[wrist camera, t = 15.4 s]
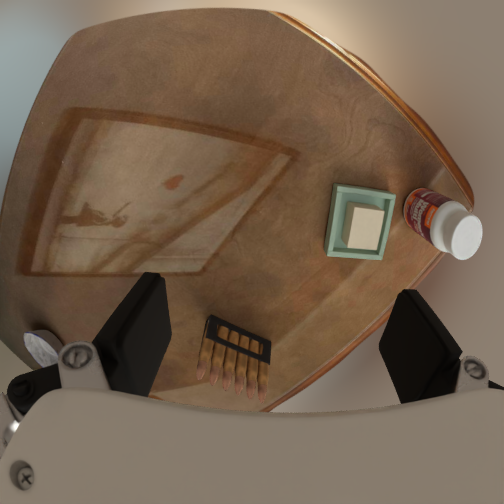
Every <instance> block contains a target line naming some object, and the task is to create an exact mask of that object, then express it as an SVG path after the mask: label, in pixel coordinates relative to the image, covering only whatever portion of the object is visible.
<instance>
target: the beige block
mask: <svg viewBox="0 0 504 504" xmlns="http://www.w3.org/2000/svg"><path fill="white" fill-rule="evenodd" d="M384 213H385V211H384V210H382V209H381V208H379V207H378V206H376V205H373V204H365V203H358V202H350V201H347V207H346V213H345V220H344V225H343V231H342V237H341V239H342V241H343V242H344V243H345V245H346V246H347V248H358V249H369V250H377V246H378V242H379V237H380V233H381V228H382V223H383V218H384Z"/></svg>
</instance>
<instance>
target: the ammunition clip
mask: <svg viewBox="0 0 504 504" xmlns="http://www.w3.org/2000/svg"><path fill="white" fill-rule="evenodd" d="M214 342H215V344H214ZM225 349H226V350H225ZM212 350H213V353H212ZM211 354H212V358H211ZM224 355H225V356H224ZM270 356H271V342H270V341H269V340H266V339H264V338H262V337H259V336H257V335H255V334H252V333H250V332H248V331H246V330H243V329H241V328H239V327H237V326H235V325H233V324H230V323H228V322H226V321H224V320H222V319H220V318H218V317H215V316H213V315H210V316H209V318H208V320H207V321H206V324H205V329H204V334H203V339H202V343H201V348H200V352H199V360H198V366H197V379H198V380H200V379H201V378H202V377H203V375H204V373H205V371H206V368H207V365H208V362H209V360H210V358H211V370H210V383H211V385H212V386H213V385H214V384H215V383H216V381H217V379H218V376H219V372H220V369H221V365H222V363H223V388H224V390H225V391H226V390H227V389H228V387H229V385H230V383H231V379H232V375H233V370H234V368H235V391H236V394H237V395H239V394H240V393H241V391H242V388H243V384H244V378H245V374H246V378H247V395H248V398H249V399H252V397H253V395H254V392H255V385H256V379H257V382H258V396H259V400H260V402H261V403H263V402H264V400H265V397H266V392H267V382H268V366H269V365H270ZM223 360H224V362H223Z"/></svg>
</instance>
